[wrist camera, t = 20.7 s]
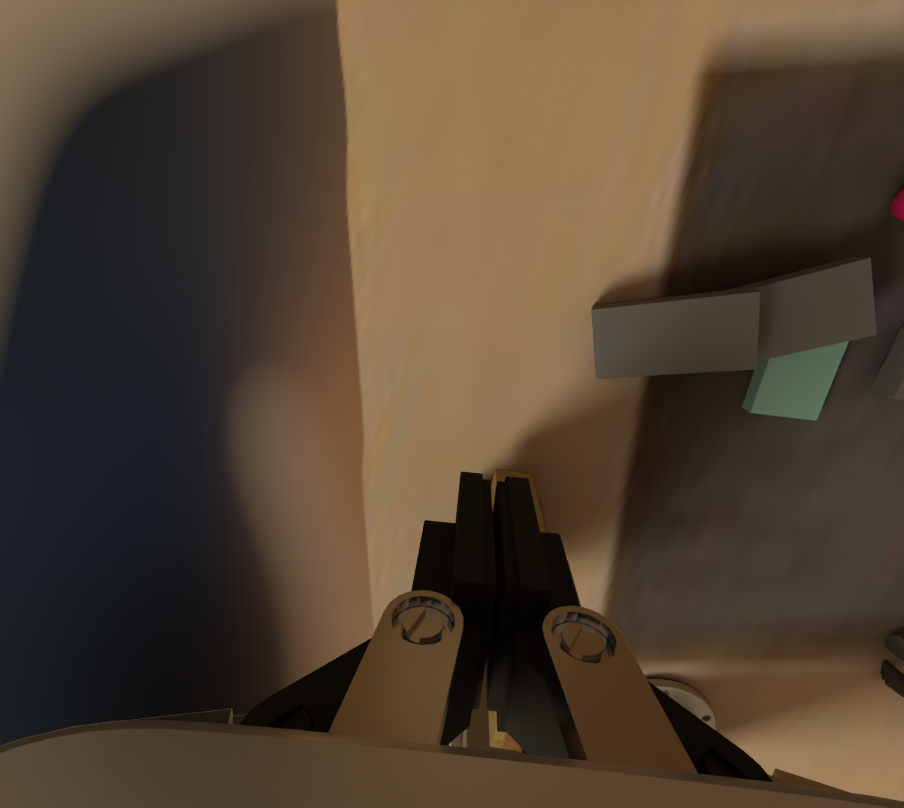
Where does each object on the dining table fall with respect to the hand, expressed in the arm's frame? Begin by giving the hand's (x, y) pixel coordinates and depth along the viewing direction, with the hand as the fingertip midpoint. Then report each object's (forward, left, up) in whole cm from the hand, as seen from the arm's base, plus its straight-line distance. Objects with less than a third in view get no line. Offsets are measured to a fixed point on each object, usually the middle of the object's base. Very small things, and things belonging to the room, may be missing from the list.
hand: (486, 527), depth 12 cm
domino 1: (0, -9, -24) cm, 26 cm away
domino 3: (+6, -24, -25) cm, 35 cm away
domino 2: (+1, -16, -24) cm, 29 cm away
